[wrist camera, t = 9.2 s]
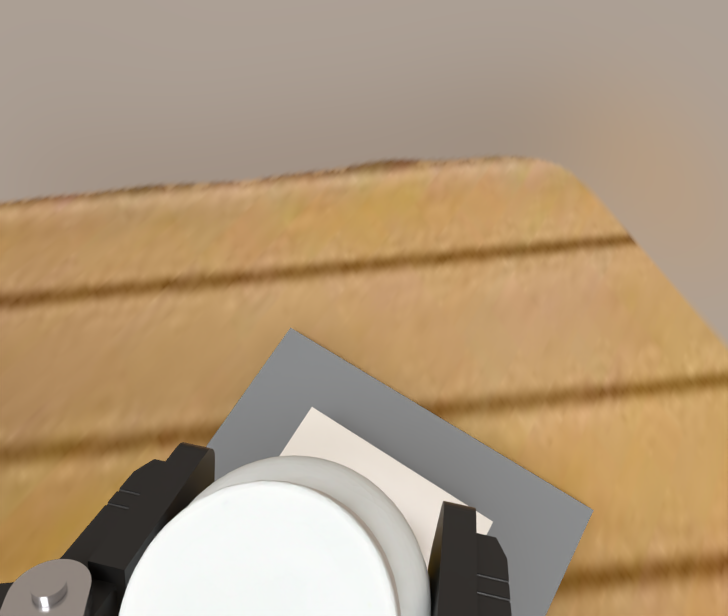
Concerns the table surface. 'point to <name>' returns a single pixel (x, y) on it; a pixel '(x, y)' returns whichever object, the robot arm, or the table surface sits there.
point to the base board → (410, 458)
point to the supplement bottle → (283, 549)
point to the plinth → (378, 474)
